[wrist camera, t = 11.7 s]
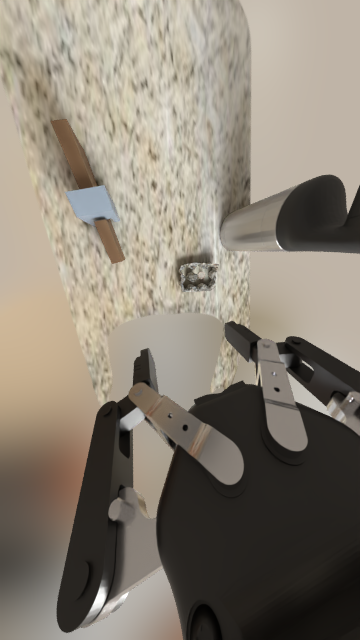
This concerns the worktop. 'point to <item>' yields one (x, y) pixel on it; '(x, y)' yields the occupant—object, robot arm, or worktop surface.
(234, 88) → the worktop surface
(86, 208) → the notched block
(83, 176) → the slotted plate
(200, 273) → the egg carton
